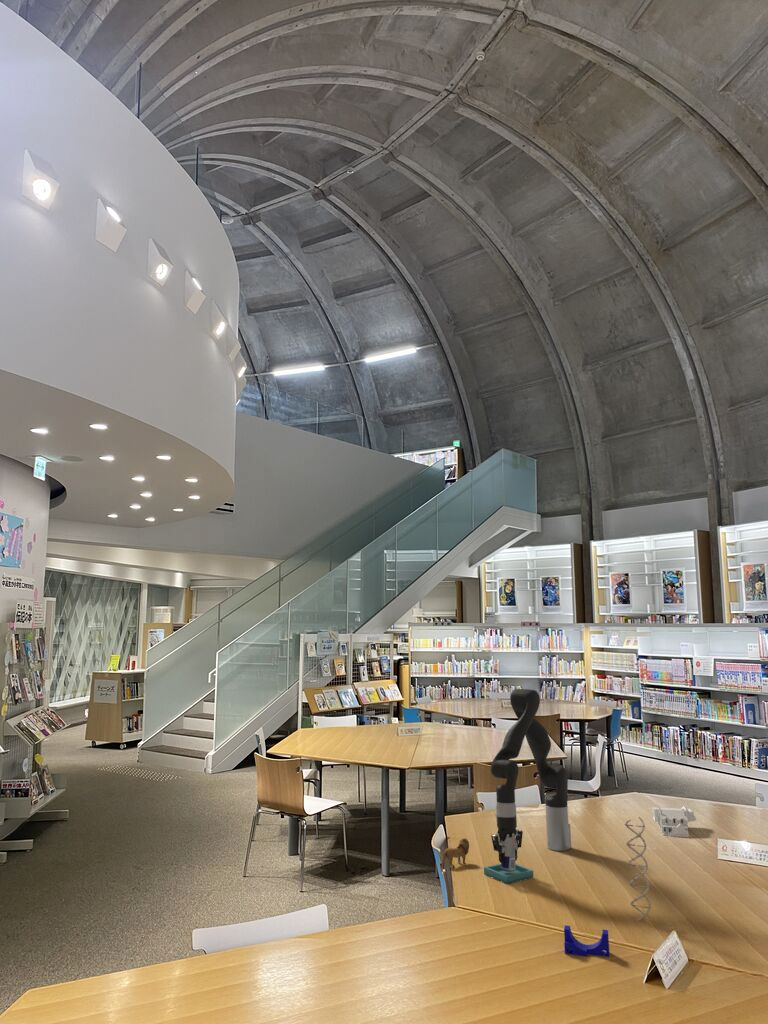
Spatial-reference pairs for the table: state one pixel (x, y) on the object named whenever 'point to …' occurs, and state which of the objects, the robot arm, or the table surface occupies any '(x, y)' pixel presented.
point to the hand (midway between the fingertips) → (508, 861)
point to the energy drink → (509, 855)
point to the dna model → (637, 870)
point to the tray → (508, 873)
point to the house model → (673, 820)
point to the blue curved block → (581, 949)
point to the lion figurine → (456, 852)
